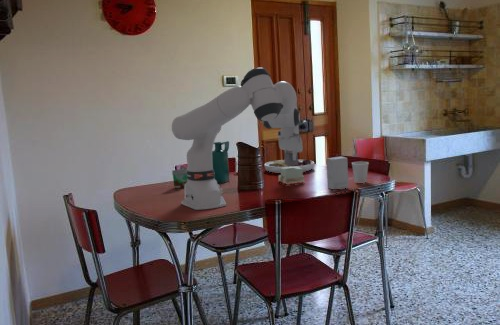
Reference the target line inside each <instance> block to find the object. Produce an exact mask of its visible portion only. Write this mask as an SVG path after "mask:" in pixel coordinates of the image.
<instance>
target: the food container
mask: <svg viewBox="0 0 500 325" xmlns="http://www.w3.org/2000/svg"><path fill="white" fill-rule="evenodd" d="M187 171H188V167H187V166H180V167H179V168H178V169H176V170H172V173H171V174H172V179H173V188H174V190H182V189H184V185H185V184H186V183H187V181H188V179H187Z"/></svg>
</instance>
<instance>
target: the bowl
mask: <svg viewBox="0 0 500 325" xmlns="http://www.w3.org/2000/svg"><path fill="white" fill-rule="evenodd" d="M296 166H297V167H299V168H302V170H303V172H304V171H308V170H311V169H312V170H313V169H314V167H315V162H314V161H312V160H309V159H307V158H305V159H298V165H291V166H288V165H285V159H278V160H272V161H268V162H265V163H264V168H265V170H266V172H268V171H269V172H268V173H270V172H275V173H281V171H280V168H285V167H296ZM312 170H311V171H312Z"/></svg>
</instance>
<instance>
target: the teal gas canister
mask: <svg viewBox="0 0 500 325" xmlns="http://www.w3.org/2000/svg"><path fill="white" fill-rule="evenodd" d="M223 145H224V148H222V147H223ZM229 149H230V141H229V140H228V141H216V142H215V141H214V149H213V150H212V163H213V169H214V173H215V180H216V181H217V184H224V183H226V182H230V169H229V168H230V167H229V153H228V151H229Z"/></svg>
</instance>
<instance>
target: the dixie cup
mask: <svg viewBox="0 0 500 325" xmlns="http://www.w3.org/2000/svg"><path fill="white" fill-rule="evenodd" d="M369 164H370V163H369V161H353V162H351V166H352V167H351V168H352V172H353V174H352V175H353V179H354V180H353V181H354V183H355V182H359V183H361V182H366V183H367V180H368V179H367V178H368V171H369Z"/></svg>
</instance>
